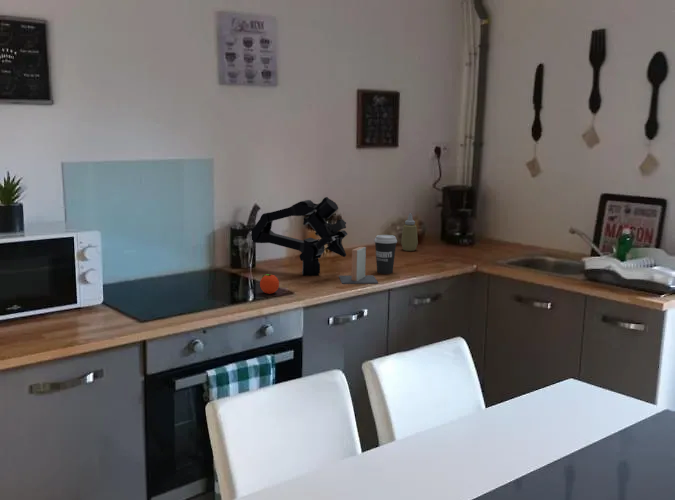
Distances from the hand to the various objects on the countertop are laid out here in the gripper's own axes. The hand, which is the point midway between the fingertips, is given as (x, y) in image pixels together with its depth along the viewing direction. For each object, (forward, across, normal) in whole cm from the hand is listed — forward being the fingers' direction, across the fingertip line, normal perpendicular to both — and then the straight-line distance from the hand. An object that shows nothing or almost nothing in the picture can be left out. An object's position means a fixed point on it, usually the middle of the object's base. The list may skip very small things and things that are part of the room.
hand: (345, 256), depth 276 cm
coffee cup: (+14, +18, -1) cm, 23 cm away
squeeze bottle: (+9, +70, +4) cm, 70 cm away
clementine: (-4, -34, +17) cm, 39 cm away
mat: (+10, 0, +2) cm, 11 cm away
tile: (+6, 0, -2) cm, 6 cm away
